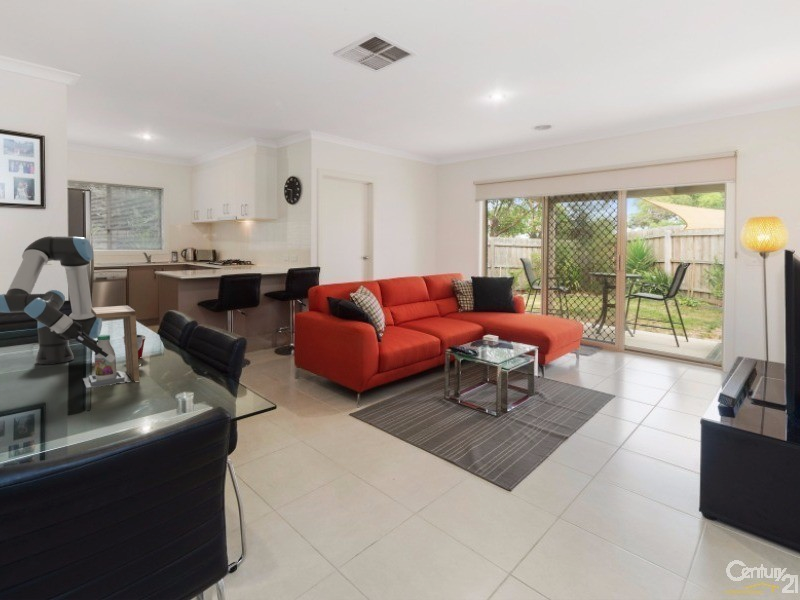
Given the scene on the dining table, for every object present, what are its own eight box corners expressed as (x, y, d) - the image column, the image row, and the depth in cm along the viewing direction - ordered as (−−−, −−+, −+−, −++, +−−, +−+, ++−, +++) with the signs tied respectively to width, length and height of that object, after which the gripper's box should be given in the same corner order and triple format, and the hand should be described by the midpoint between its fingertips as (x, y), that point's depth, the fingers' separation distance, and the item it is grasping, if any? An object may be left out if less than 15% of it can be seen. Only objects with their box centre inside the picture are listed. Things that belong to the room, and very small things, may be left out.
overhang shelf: (96, 376, 198) (91, 307, 194) (131, 371, 207) (127, 305, 203) (101, 388, 183) (96, 313, 179) (139, 381, 192) (135, 310, 188)
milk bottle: (102, 376, 196) (99, 333, 194) (120, 376, 197) (117, 333, 194) (92, 382, 188) (88, 337, 186) (110, 382, 189) (107, 337, 187)
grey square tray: (83, 379, 193) (82, 375, 193) (124, 373, 204) (124, 369, 204) (86, 389, 181) (86, 384, 181) (130, 381, 192) (130, 377, 192)
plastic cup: (136, 361, 224) (135, 339, 222) (118, 360, 226) (117, 337, 224) (152, 356, 234) (151, 334, 233) (135, 355, 236) (134, 333, 235)
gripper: (57, 329, 189) (100, 357, 201) (60, 339, 170) (108, 369, 182) (71, 316, 192) (113, 344, 203) (76, 325, 173) (122, 355, 185)
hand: (111, 356), depth 193 cm, fingers open, 13 cm apart
